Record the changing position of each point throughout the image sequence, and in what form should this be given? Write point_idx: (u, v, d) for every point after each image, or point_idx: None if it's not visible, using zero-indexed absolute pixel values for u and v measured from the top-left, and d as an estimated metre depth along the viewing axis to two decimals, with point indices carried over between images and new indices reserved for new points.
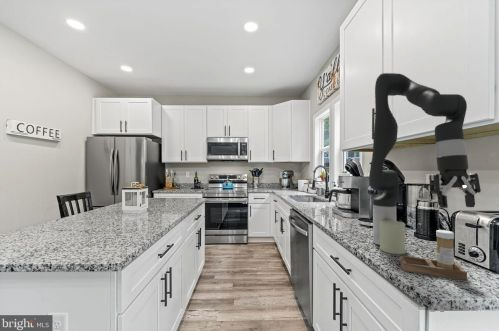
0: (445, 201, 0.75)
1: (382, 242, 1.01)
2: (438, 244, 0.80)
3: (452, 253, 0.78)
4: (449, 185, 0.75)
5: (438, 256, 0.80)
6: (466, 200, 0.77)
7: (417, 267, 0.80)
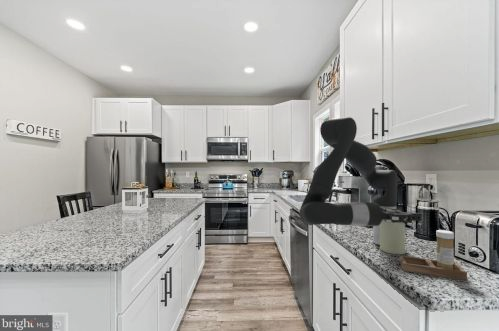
0: None
1: (382, 242, 1.01)
2: (438, 244, 0.80)
3: (452, 253, 0.78)
4: None
5: (438, 256, 0.80)
6: None
7: (417, 267, 0.80)
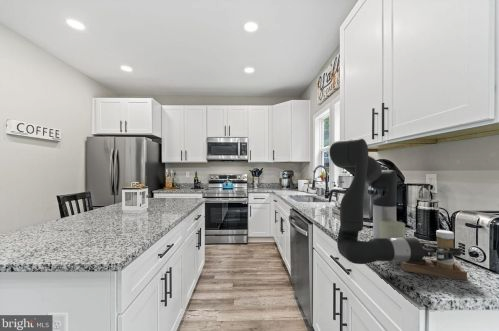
0: None
1: None
2: (438, 244, 0.80)
3: None
4: None
5: None
6: None
7: (417, 267, 0.80)
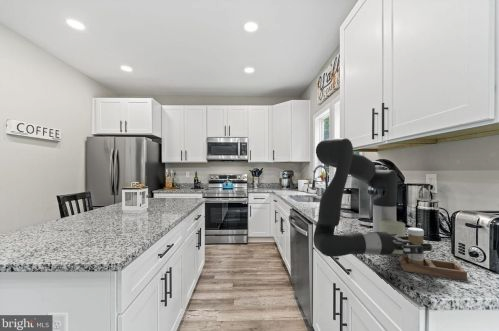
0: None
1: None
2: None
3: None
4: None
5: None
6: None
7: (417, 267, 0.80)
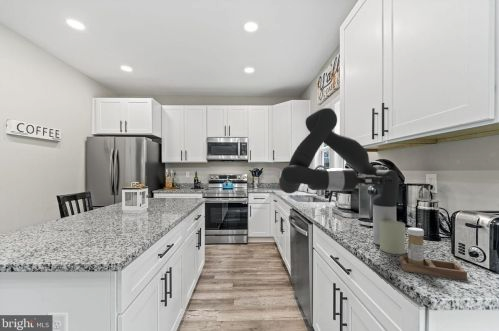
0: None
1: (382, 242, 1.01)
2: (409, 241, 0.83)
3: (422, 250, 0.81)
4: None
5: (409, 252, 0.83)
6: None
7: (417, 267, 0.80)
